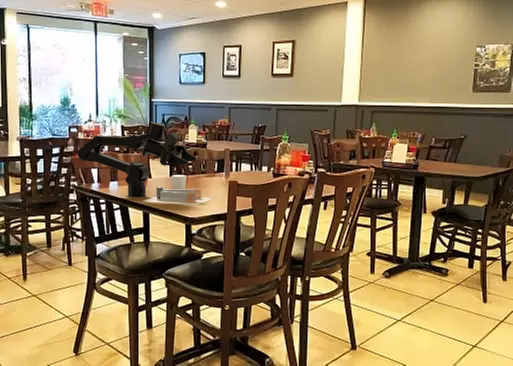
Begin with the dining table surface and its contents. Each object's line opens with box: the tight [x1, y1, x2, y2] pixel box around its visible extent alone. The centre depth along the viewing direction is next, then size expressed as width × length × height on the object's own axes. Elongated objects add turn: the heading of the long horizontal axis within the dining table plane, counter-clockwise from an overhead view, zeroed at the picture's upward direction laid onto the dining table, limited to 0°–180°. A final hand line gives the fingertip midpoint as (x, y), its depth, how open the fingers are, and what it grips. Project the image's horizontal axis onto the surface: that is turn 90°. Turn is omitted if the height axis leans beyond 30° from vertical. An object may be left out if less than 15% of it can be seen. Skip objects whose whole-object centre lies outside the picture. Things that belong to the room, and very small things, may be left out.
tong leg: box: [156, 186, 202, 199], centre depth 216 cm, size 18×3×4 cm, turn 101°
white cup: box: [171, 174, 187, 189], centre depth 242 cm, size 7×7×7 cm
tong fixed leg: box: [160, 191, 196, 203], centre depth 210 cm, size 15×2×4 cm, turn 71°
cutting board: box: [142, 196, 214, 206], centre depth 214 cm, size 24×18×1 cm
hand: (191, 161), depth 214 cm, fingers open, 9 cm apart
